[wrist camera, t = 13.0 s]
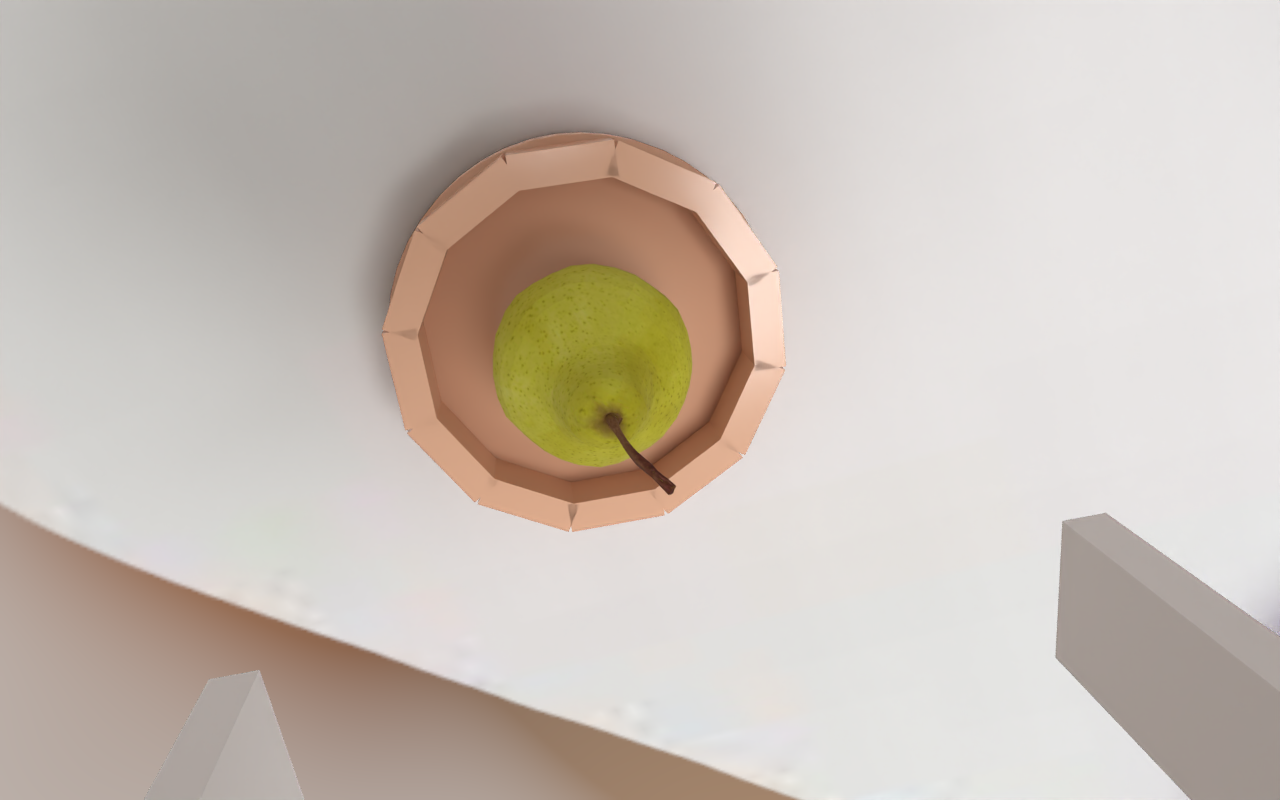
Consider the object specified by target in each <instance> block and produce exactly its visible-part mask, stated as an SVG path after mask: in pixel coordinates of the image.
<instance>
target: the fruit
mask: <svg viewBox="0 0 1280 800" xmlns="http://www.w3.org/2000/svg"><path fill="white" fill-rule="evenodd" d="M691 374H692V353H691V346H690V341H689V336H688V332H687V329H686V327H685V324H684V322H683V320H682V317H681V315H680V313H679V311H678V309H677V308H676V307H675V306H674V305H673V303H672V302H671V301H670V300H669V299H668V298H667V297H666V296H665V295H663V294H662V293H661V292H659V291H658V290H657V289H655V288H654V287H653V286H651V285H650V284H649V283H647V282H645V281H644V280H642V279H641V278H639V277H638V276H636V275H635V274H632V273H629V272H626V271H624V270H621V269H618V268H615V267H609V266H603V265H597V264H583V265H572V266H569V267H566V268H564V269H561V270H559V271H557V272H554V273H552V274H550V275H548V276H546V277H544V278H542V279H540V280H539V281H537V282H535V283H533V284H531V285H530V286H529V287H527V288H526V289H525V290H523V291H522V292H520V293H519V294H518V295H516V296H515V298H514V299H513V301H512V302H511V304H510V305H509V306H508V308H507V309H506V311H505V313H504V315H503V318H502V320H501V323H500V325H499V327H498V330H497V332H496V335H495V343H494V351H493V378H494V383H495V388H496V393H497V397H498V400H499V402H500V405H501V407H502V409H503V411H504V413H505V416H506V417H507V418H508V419H509V420H510V421H511V422H512V423H513V424H514V425H515V426H516V427H517V428H518V429H519V430H520V431H521V432H522V433H523V434H524V435H525V436H527V437H528V438H529V439H530V440H531V441H532V442H533V443H535V444H536V445H537V446H539V447H540V448H541V449H543V450H544V451H545V452H547V453H549V454H551V455H553V456H555V457H557V458H559V459H561V460H564V461H567V462H570V463H573V464H577V465H584V466H593V467H604V466H608V465H613V464H617V463H620V462H622V461H624V460H626V459H629V458H631V459H632V460H633V462H634V463H635V464H636V465H637V466H638V467H639V468H640V469H642V470H643V471H644V472H645V473H646V474H648V475H649V476H650V477H652V478H653V479H654V480H655V481H656V483H657V484H658V485H659V486H660V487H661V488H662V489H663V490H664V491H665V492H666V493H667V494H668V495H671V494H673V493H674V490H675V488H676V485H675V484H674V483H673V482H671V481H670V480H669V479H668V478H666V477H665V476H664V475H662V474H661V473H660V472H659V471H657V469H656V468H655V467H654V466H653V465H652V464H651V463H650V462H649V461H648V460H646V459H645V458H644V457H643V456H642V455H641V454H639V453H640V452H642V451H644V450H646V449H647V448H649V447H651V446H652V445H653V444H654V443H656V442H657V441H658V440H659V439H660V438H662V437H663V436H664V434H665V433H666V432H667V430H668V429H669V428H670V426H671V425H672V424H673V422H674V421H675V420H676V419H677V417H678V414H679V412H680V410H681V408H682V406H683V404H684V402H685V399H686V395H687V392H688V389H689V386H690V380H691Z"/></svg>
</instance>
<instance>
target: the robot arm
mask: <svg viewBox="0 0 1280 800" xmlns="http://www.w3.org/2000/svg"><path fill="white" fill-rule="evenodd" d="M1056 659H1057V660H1058V661H1059V662H1060V663H1061V664H1062V665H1063V666H1064V667H1065V668H1066V669H1067V670H1068V671H1069V672H1070V673H1071V674H1072V675H1073V676H1074V677H1075V678H1076V680H1077V681H1078V682H1079V683H1080V684H1081V685H1082V686H1083V687H1084V688H1085V689H1086V690H1087V691H1088V692H1089V693H1090V694H1091V695H1092V696H1093V697H1094V698H1095V699H1096V701H1097V702H1098V703H1099V704H1100V705H1101V706H1102V707H1103V708H1104V709H1105V710H1106V711H1107V712H1108V713H1109V714H1110V715H1111V716H1112V717H1113V718H1114V719H1115V721H1116V722H1117V723H1118V724H1119V725H1120V726H1121V727H1122V728H1123V729H1124V730H1125V731H1126V732H1127V733H1128V734H1129V735H1130V736H1131V737H1132V738H1133V739H1134V740H1135V742H1136V743H1137V744H1138V745H1139V746H1140V747H1141V748H1142V749H1143V750H1144V751H1145V752H1146V753H1147V754H1148V755H1149V756H1150V757H1151V758H1152V759H1153V760H1154V762H1155V763H1156V764H1157V765H1158V766H1159V767H1160V768H1161V769H1162V770H1163V771H1164V772H1165V773H1166V774H1167V775H1168V776H1169V777H1170V778H1171V779H1172V780H1173V781H1174V783H1175V784H1176V785H1177V786H1178V787H1179V788H1180V789H1181V790H1182V791H1183V792H1184V793H1185V794H1186V795H1187V796H1188V797H1189V798H1190V799H1191V800H1280V637H1279V636H1278V635H1276V634H1275V633H1274V632H1272V631H1271V630H1269V629H1268V628H1267V627H1265V626H1264V625H1262V624H1261V623H1260V622H1258V621H1257V620H1255V619H1254V618H1252V617H1251V616H1250V615H1248V614H1247V613H1245V612H1244V611H1243V610H1241V609H1240V608H1238V607H1237V606H1236V605H1234V604H1233V603H1231V602H1230V601H1229V600H1227V599H1226V598H1224V597H1223V596H1222V595H1220V594H1219V593H1217V592H1216V591H1215V590H1213V589H1212V588H1210V587H1209V586H1208V585H1206V584H1205V583H1203V582H1202V581H1201V580H1199V579H1198V578H1196V577H1195V576H1194V575H1192V574H1191V573H1189V572H1188V571H1187V570H1185V569H1184V568H1182V567H1181V566H1180V565H1178V564H1177V563H1175V562H1174V561H1172V560H1171V559H1170V558H1168V557H1167V556H1165V555H1164V554H1163V553H1161V552H1160V551H1158V550H1157V549H1156V548H1154V547H1153V546H1151V545H1150V544H1149V543H1147V542H1146V541H1144V540H1143V539H1142V538H1140V537H1139V536H1137V535H1136V534H1135V533H1133V532H1132V531H1130V530H1129V529H1128V528H1126V527H1125V526H1123V525H1122V524H1121V523H1119V522H1118V521H1116V520H1115V519H1114V518H1112V517H1111V516H1109V515H1108V514H1107V513H1103V514H1098V515H1092V516H1087V517H1081V518H1076V519H1071V520H1065V521H1062V540H1061V559H1060V579H1059V599H1058V618H1057V638H1056ZM144 800H304V797H303V794H302V791H301V788H300V786H299V783H298V780H297V777H296V774H295V771H294V768H293V765H292V762H291V759H290V757H289V754H288V751H287V748H286V745H285V742H284V739H283V736H282V734H281V731H280V728H279V725H278V722H277V719H276V717H275V714H274V711H273V708H272V705H271V702H270V699H269V696H268V693H267V690H266V688H265V685H264V682H263V679H262V676H261V673H260V670H257V671H252V672H247V673H241V674H236V675H230V676H225V677H219V678H214V679H209V680H208V682H207V684H206V686H205V687H204V689H203V691H202V693H201V695H200V697H199V699H198V700H197V702H196V704H195V706H194V708H193V710H192V711H191V713H190V715H189V717H188V719H187V721H186V723H185V725H184V726H183V728H182V730H181V732H180V734H179V736H178V737H177V740H176V741H175V743H174V745H173V747H172V748H171V750H170V752H169V754H168V756H167V758H166V760H165V762H164V763H163V765H162V767H161V769H160V771H159V773H158V774H157V776H156V778H155V780H154V782H153V784H152V786H151V787H150V789H149V791H148V793H147V795H146V797H145V799H144Z"/></svg>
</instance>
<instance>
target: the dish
mask: <svg viewBox="0 0 1280 800" xmlns="http://www.w3.org/2000/svg"><path fill="white" fill-rule="evenodd" d="M583 264H597V265H603V266H609V267H615V268H618V269H621V270H624V271H626V272H629V273H632V274H635V275H636V276H638V277H639V278H641V279H642V280H644V281H645V282H647V283H649V284H650V285H651V286H653V287H654V288H655V289H657V290H658V291H659V292H661V293H662V294H663V295H665V296H666V297H667V298H668V299H669V300H670V301H671V302H672V303H673V305H674V306H675V307H676V308H677V309H678V311H679V313H680V315H681V317H682V320H683V322H684V324H685V327H686V329H687V332H688V336H689V341H690V346H691V353H692V374H691V380H690V386H689V389H688V392H687V395H686V399H685V402H684V404H683V406H682V408H681V410H680V412H679V414H678V417H677V419H676V420H675V421H674V422H673V424H672V425H671V426H670V428H669V429H668V430H667V432H666V433H665V434H664V436H663V437H662V438H660V439H659V440H658V441H657V442H656V443H654V444H653V445H652V446H651V447H649V448H647V449H646V450H644V451H642V452H640V453H639V454H641V455H642V456H643V457H644V458H645V459H646V460H648V461H649V462H650V463H651V464H652V465H653V466H654V467H655V468H656V469H657V471H659V472H660V473H661V474H662V475H664V476H665V477H666V478H668V479H669V480H670V481H671V482H673V483H674V484H675V485H676V488H675V490H674V493H673V494H671V495H668V494H667V493H666V492H665V491H664V490H663V489H662V488H661V487H660V486H659V485H658V484H657V483H656V481H655V480H654V479H653V478H652V477H650V476H649V475H648V474H646V473H645V472H644V471H643V470H642V469H640V468H639V467H638V466H637V465H636V464H635V463H634V462H633V460H632V459H631V458H629V459H626V460H624V461H622V462H620V463H617V464H613V465H608V466H604V467H593V466H584V465H577V464H573V463H570V462H567V461H564V460H561V459H559V458H557V457H555V456H553V455H551V454H549V453H547V452H545V451H544V450H543V449H541V448H540V447H539V446H537V445H536V444H535V443H533V442H532V441H531V440H530V439H529V438H528V437H527V436H525V435H524V434H523V433H522V432H521V431H520V430H519V429H518V428H517V427H516V426H515V425H514V424H513V423H512V422H511V421H510V420H509V419H508V418H507V417H506V416H505V413H504V411H503V409H502V407H501V405H500V402H499V400H498V397H497V393H496V388H495V383H494V378H493V351H494V343H495V335H496V332H497V330H498V327H499V325H500V323H501V320H502V318H503V315H504V313H505V311H506V309H507V308H508V306H509V305H510V304H511V302H512V301H513V299H514V298H515V296H516V295H518V294H519V293H520V292H522V291H523V290H525V289H526V288H527V287H529V286H530V285H531V284H533V283H535V282H537V281H539V280H540V279H542V278H544V277H546V276H548V275H550V274H552V273H554V272H557V271H559V270H561V269H564V268H566V267H569V266H572V265H583ZM776 268H777V265H776V264H775V263H774V261H773V260H772V258H771V257H770V256H769V254H768V253H767V251H766V250H765V248H764V247H763V246H762V244H761V243H760V241H759V240H758V239H757V237H756V236H755V234H754V233H753V231H752V230H751V228H750V226H749V225H748V223H747V221H746V220H745V218H744V216H743V215H742V214H741V212H740V211H739V210H738V209H737V207H736V206H735V205H734V204H733V202H732V201H731V200H730V199H729V198H728V196H727V195H726V193H725V192H724V190H723V189H722V188H721V186H720V185H719V184H716V182H715V181H712V180H710V179H709V178H708V177H706V176H705V175H704V174H702V173H701V172H699V171H698V170H697V169H695V168H694V167H692V166H691V165H689V164H688V163H687V162H685V161H683V160H681V159H679V158H677V157H675V156H673V155H671V154H669V153H667V152H665V151H664V150H661V149H658V148H656V147H653V146H650V145H647V144H644V143H641V142H639V141H636V140H633V139H630V138H625V137H620V136H615V135H610V134H604V133H589V132H572V133H558V134H551V135H546V136H541V137H537V138H532V139H528V140H525V141H522V142H520V143H517V144H514V145H511V146H509V147H506V148H503V149H502V150H500V151H498V152H496V153H494V154H492V155H490V156H488V157H486V158H485V159H483V160H481V161H480V162H478V163H477V164H475V165H474V166H473V167H471V168H470V169H468V170H467V171H466V172H464V173H463V174H461V175H460V176H459V177H458V178H457V179H456V180H455V181H454V182H453V183H452V184H451V185H450V186H449V187H448V188H447V189H446V190H445V191H443V192H442V194H441V195H440V196H439V197H438V198H437V200H436V201H435V202H434V203H433V205H432V206H431V207H430V208H429V210H428V211H427V212H426V214H425V215H424V216H423V217H422V219H421V220H420V222H419V223H418V225H417V227H416V228H415V230H414V232H413V234H412V235H411V237H410V239H409V240H408V242H407V244H406V247H405V249H404V252H403V254H402V257H401V259H400V262H399V264H398V266H397V270H396V274H395V278H394V282H393V286H392V290H391V296H390V305H389V309H388V312H387V315H386V318H385V321H384V324H383V328H382V330H384V331H383V332H382V337H383V341H384V345H385V349H386V353H387V357H388V361H389V366H390V370H391V374H392V378H393V382H394V386H395V390H396V394H397V398H398V402H399V406H400V410H401V415H402V419H403V423H404V427H405V430H408V433H407V434H408V435H409V436H410V437H411V438H412V439H413V440H414V441H415V442H416V443H417V444H418V445H419V446H420V447H421V448H422V449H423V450H424V451H425V452H426V453H427V454H428V455H429V456H430V457H431V458H432V459H433V460H434V461H435V462H436V463H437V464H438V465H439V466H440V467H441V468H442V469H443V470H444V472H445V473H446V474H447V475H448V476H449V477H450V478H451V479H452V480H453V481H454V482H455V483H456V484H457V485H458V486H459V487H460V488H461V489H462V490H463V491H464V492H465V493H466V494H467V495H468V496H469V497H470V498H471V499H472V500H473V501H474V502H476V501H477V500H478V499H479V500H478V504H479V505H482V506H486V507H489V508H492V509H495V510H499V511H502V512H505V513H509V514H512V515H515V516H519V517H522V518H525V519H528V520H532V521H535V522H538V523H542V524H545V525H548V526H552V527H555V528H558V529H561V530H565V531H568V532H569V529H570V527H572V532H574V531H580V530H585V529H591V528H596V527H602V526H608V525H613V524H619V523H624V522H630V521H635V520H641V519H646V518H652V517H658V516H663V515H664V510H665V511H666V512H667V513H670V512H671V511H672V510H674V509H675V508H676V507H678V506H679V505H680V504H682V503H683V502H684V501H686V500H687V499H688V498H690V497H691V496H692V495H694V494H695V493H696V492H698V491H699V490H700V489H702V488H703V487H704V486H706V485H707V484H708V483H710V482H711V481H712V480H714V479H715V478H716V477H718V476H719V475H720V474H722V473H723V472H724V471H726V470H727V469H728V468H730V467H731V466H732V465H734V464H735V463H736V462H738V461H739V460H740V459H742V456H741V454H744V455H745V454H746V452H747V450H748V447H749V445H750V443H751V441H752V439H753V437H754V435H755V433H756V431H757V428H758V426H759V424H760V422H761V420H762V418H763V416H764V414H765V412H766V409H767V407H768V405H769V403H770V401H771V399H772V397H773V395H774V393H775V391H776V388H777V386H778V384H779V382H780V380H781V378H782V376H783V374H784V372H785V369H784V368H783V367H785V366H786V361H785V347H784V334H783V320H782V306H781V293H780V279H779V271H778V270H777V269H776ZM740 453H741V454H740Z"/></svg>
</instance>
